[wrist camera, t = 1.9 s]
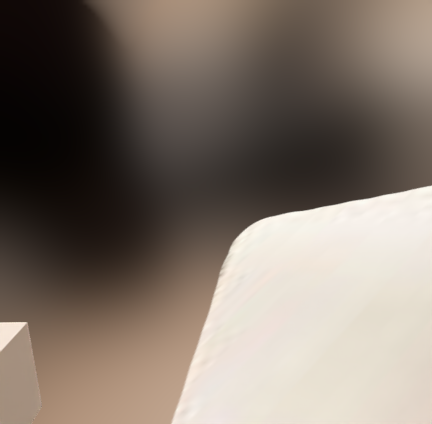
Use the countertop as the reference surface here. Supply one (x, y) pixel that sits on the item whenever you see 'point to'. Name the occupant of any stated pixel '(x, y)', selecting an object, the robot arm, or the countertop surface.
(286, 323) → the countertop surface
